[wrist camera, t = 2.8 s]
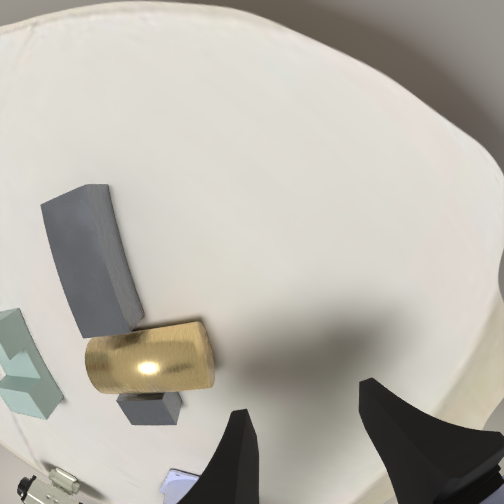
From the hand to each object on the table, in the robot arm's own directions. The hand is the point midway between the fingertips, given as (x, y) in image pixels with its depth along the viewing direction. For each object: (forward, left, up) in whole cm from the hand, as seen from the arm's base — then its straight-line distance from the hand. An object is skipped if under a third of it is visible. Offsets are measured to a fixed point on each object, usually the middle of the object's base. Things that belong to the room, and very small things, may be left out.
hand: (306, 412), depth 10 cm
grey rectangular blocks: (+11, +4, -8) cm, 14 cm away
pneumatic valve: (+17, +42, -9) cm, 46 cm away
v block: (+22, +15, -8) cm, 28 cm away
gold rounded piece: (+8, +5, -6) cm, 11 cm away
